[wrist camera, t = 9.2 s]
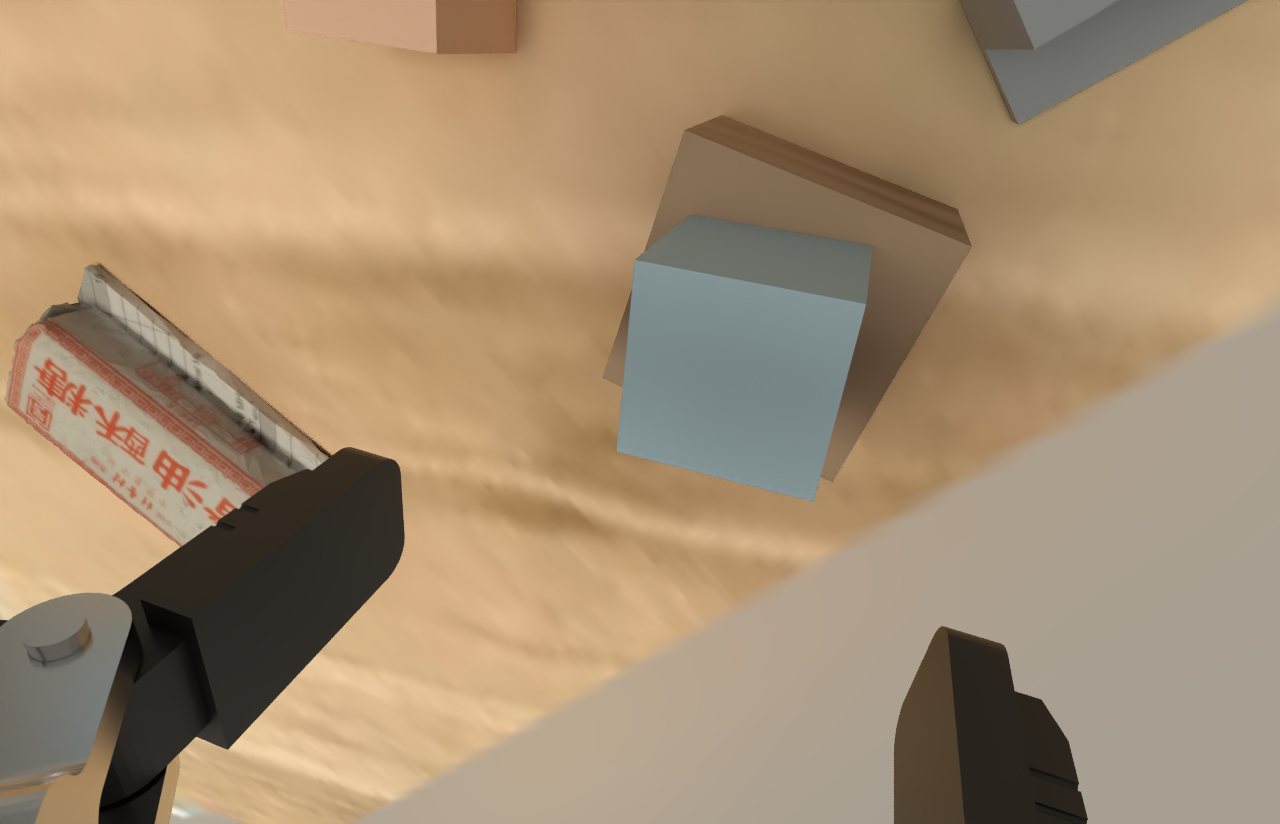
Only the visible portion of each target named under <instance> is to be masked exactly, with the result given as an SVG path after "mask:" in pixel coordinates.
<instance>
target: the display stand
mask: <svg viewBox="0 0 1280 824" xmlns="http://www.w3.org/2000/svg"><path fill="white" fill-rule="evenodd" d="M959 1H960V3H961V6H962V8H963V10H964V12H965V14H966V17H967V19H968V21H969V23H970V26H971V28H972V30H973V32H974V35H975V37H976V39H977V41H978V44H979V46H980V48H981V50H982V52H983V55H984V57H985V59H986V61H987V64H988V66H989V68H990V70H991V73H992V75H993V77H994V79H995V82H996V84H997V86H998V88H999V90H1000V93H1001V95H1002V97H1003V99H1004V102H1005V104H1006V106H1007V108H1008V111H1009V113H1010V115H1011V117H1012V120H1013V122H1015V123H1016V124H1018V125H1020V124H1021V123H1023V122H1025V121H1027V120H1029V119H1031V118H1032V117H1034V116H1036V115H1038V114H1040V113H1042V112H1043V111H1045V110H1047V109H1049V108H1051V107H1053V106H1054V105H1056V104H1058V103H1060V102H1062V101H1064V100H1065V99H1067V98H1069V97H1071V96H1073V95H1075V94H1076V93H1078V92H1080V91H1082V90H1084V89H1086V88H1087V87H1089V86H1091V85H1093V84H1095V83H1097V82H1098V81H1100V80H1102V79H1104V78H1106V77H1108V76H1109V75H1111V74H1113V73H1115V72H1117V71H1119V70H1120V69H1122V68H1124V67H1126V66H1128V65H1130V64H1131V63H1133V62H1135V61H1137V60H1139V59H1141V58H1142V57H1144V56H1146V55H1148V54H1150V53H1152V52H1153V51H1155V50H1157V49H1159V48H1161V47H1163V46H1164V45H1166V44H1168V43H1170V42H1172V41H1174V40H1175V39H1177V38H1179V37H1181V36H1183V35H1185V34H1186V33H1188V32H1190V31H1192V30H1194V29H1196V28H1197V27H1199V26H1201V25H1203V24H1205V23H1207V22H1208V21H1210V20H1212V19H1214V18H1216V17H1218V16H1219V15H1221V14H1223V13H1225V12H1227V11H1229V10H1230V9H1232V8H1234V7H1236V6H1238V5H1240V4H1241V3H1243V2H1245V1H1247V0H959Z"/></svg>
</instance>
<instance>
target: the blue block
mask: <svg viewBox="0 0 1280 824" xmlns="http://www.w3.org/2000/svg"><path fill="white" fill-rule="evenodd" d="M872 249H873V246H870V245H864V244H858V243H852V242H847V241H841V240H835V239H829V238H823V237H818V236H812V235H806V234H800V233H795V232H789V231H783V230H777V229H771V228H766V227H760V226H754V225H748V224H743V223H737V222H731V221H725V220H719V219H714V218H708V217H702V216H696V215H691V214H690V215H689V216H688V217H687V218H686V219H684V220H683V221H682V222H681V223H679V224H678V225H677V226H676V227H675V228H673V229H672V230H671V231H670V232H668V233H667V234H666V235H665V236H664V237H662V238H661V239H660V240H659V241H658V242H656V243H655V244H654V245H653V246H651V247H650V248H649V249H648V250H647V251H645V252H644V253H643V254H642V255H640V256H639V257H638V258H637V259H636V260H635V265H634V275H633V286H632V296H631V307H630V317H629V328H628V338H627V349H626V359H625V369H624V380H623V390H622V401H621V411H620V422H619V432H618V443H617V452H620V453H624V454H628V455H632V456H636V457H640V458H644V459H648V460H651V461H655V462H659V463H663V464H667V465H671V466H675V467H679V468H683V469H687V470H690V471H694V472H698V473H702V474H706V475H710V476H714V477H718V478H722V479H726V480H729V481H733V482H737V483H741V484H745V485H749V486H753V487H757V488H761V489H765V490H769V491H772V492H776V493H780V494H784V495H788V496H792V497H796V498H800V499H804V500H808V501H811V502H814V500H815V496H816V492H817V488H818V484H819V481H820V477H821V473H822V469H823V466H824V462H825V458H826V454H827V450H828V447H829V443H830V439H831V435H832V432H833V428H834V424H835V420H836V417H837V413H838V409H839V405H840V401H841V398H842V394H843V390H844V386H845V383H846V379H847V375H848V371H849V367H850V364H851V360H852V356H853V352H854V349H855V345H856V341H857V337H858V334H859V330H860V326H861V322H862V318H863V315H864V311H865V307H866V302H867V293H868V284H869V275H870V267H871V258H872Z"/></svg>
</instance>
